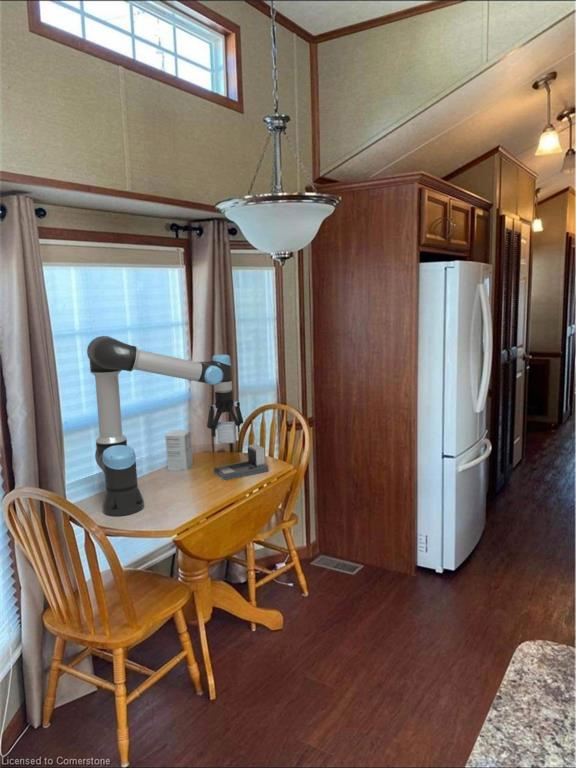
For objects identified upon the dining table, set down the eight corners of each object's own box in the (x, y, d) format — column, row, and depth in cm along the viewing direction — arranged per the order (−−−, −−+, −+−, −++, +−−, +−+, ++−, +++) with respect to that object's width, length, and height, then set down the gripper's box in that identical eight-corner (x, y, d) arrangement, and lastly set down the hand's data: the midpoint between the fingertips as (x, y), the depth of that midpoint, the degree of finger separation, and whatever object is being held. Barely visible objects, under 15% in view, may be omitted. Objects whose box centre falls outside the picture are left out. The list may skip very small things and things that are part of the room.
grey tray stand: (224, 480, 242) (222, 457, 240) (213, 473, 252) (212, 450, 251) (268, 471, 252) (267, 448, 250) (256, 464, 262) (255, 442, 260)
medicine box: (236, 440, 249) (235, 421, 247) (234, 443, 244) (233, 424, 243) (218, 440, 249) (217, 421, 248) (216, 443, 245) (215, 424, 244)
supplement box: (174, 464, 267) (171, 429, 264) (193, 464, 266) (190, 429, 263) (167, 471, 258) (164, 435, 255) (187, 471, 257) (184, 435, 254)
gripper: (242, 386, 251) (245, 435, 255) (196, 392, 241) (200, 443, 245) (249, 389, 245) (252, 439, 249) (202, 395, 235) (206, 447, 238)
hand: (226, 441), depth 247 cm, fingers closed on medicine box, 9 cm apart
